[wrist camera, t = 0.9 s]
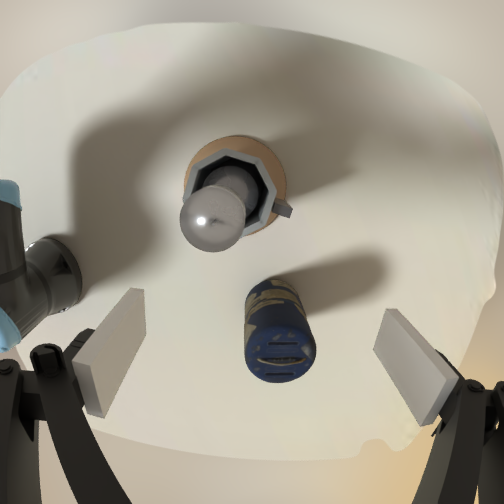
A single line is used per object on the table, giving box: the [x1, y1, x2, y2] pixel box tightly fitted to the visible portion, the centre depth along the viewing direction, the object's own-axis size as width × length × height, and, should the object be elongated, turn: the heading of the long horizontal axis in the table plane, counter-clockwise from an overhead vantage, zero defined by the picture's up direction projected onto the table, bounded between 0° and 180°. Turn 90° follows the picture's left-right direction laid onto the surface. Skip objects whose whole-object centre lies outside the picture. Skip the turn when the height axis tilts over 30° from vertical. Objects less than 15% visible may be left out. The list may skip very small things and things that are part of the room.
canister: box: [244, 280, 316, 383], centre depth 44 cm, size 10×10×18 cm
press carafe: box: [182, 136, 293, 239], centre depth 40 cm, size 16×16×14 cm
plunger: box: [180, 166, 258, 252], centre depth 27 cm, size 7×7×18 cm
